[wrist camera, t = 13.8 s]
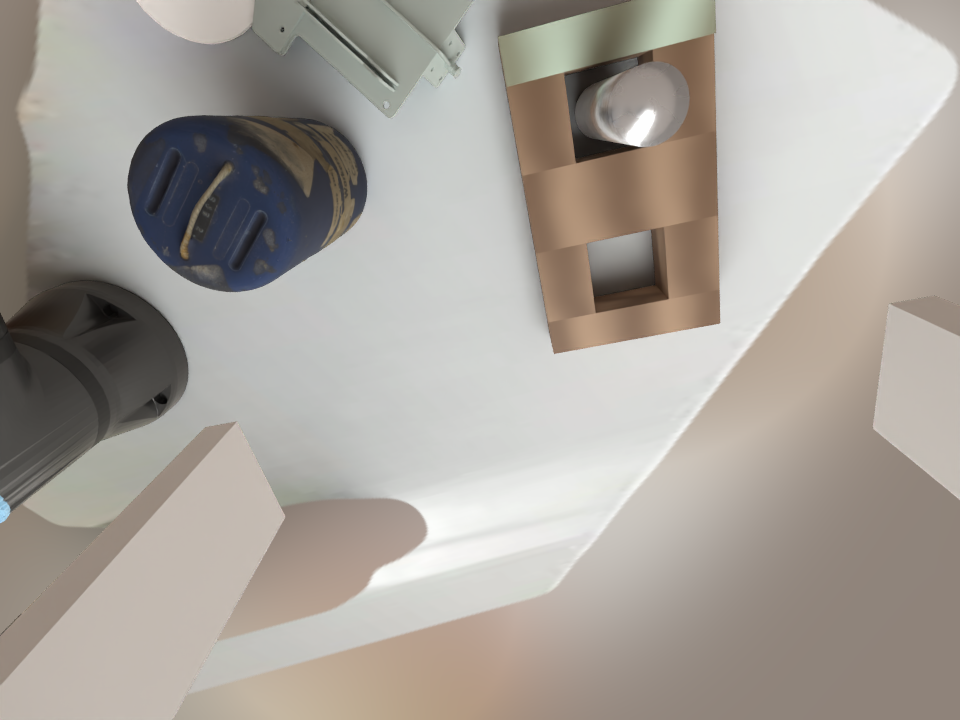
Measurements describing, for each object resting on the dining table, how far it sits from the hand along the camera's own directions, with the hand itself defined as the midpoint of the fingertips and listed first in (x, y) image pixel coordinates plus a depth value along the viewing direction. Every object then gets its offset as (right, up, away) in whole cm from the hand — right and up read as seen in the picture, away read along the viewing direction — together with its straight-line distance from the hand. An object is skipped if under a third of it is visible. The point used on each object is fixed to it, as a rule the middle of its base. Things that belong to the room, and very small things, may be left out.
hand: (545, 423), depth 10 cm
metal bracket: (-9, +27, +26) cm, 39 cm away
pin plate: (+9, +15, +31) cm, 36 cm away
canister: (-15, +16, +32) cm, 39 cm away
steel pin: (+8, +21, +28) cm, 36 cm away
